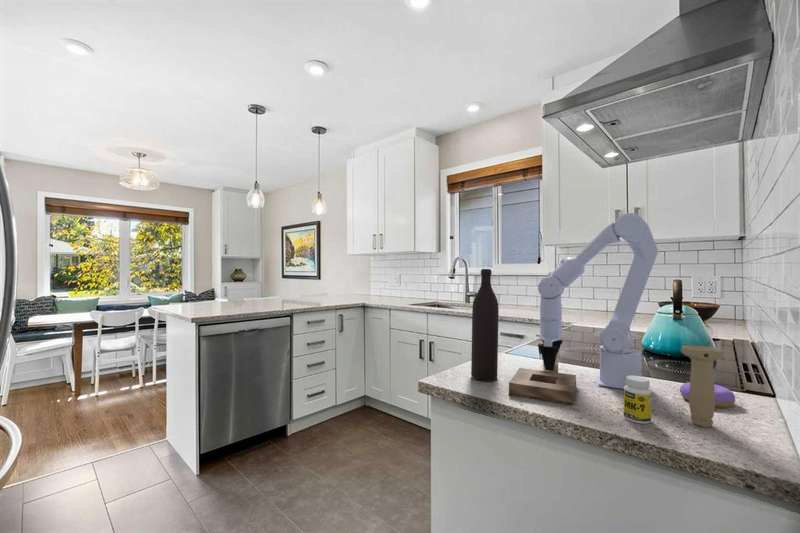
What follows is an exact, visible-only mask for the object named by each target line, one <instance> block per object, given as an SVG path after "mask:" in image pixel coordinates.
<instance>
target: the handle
mask: <svg viewBox="0 0 800 533" xmlns="http://www.w3.org/2000/svg"><path fill="white" fill-rule="evenodd" d="M724 351H725V350H724V349H722V348H718V347H712V346H711V347H710V346H704V345H703V346H702V345H681V353H682V354H683V355H684V356H687V357H688V358H689V359H690V363H691V365H690V378H689V382H690V388H689V401H688V404H689V411H690V419H691V422H692V423H693V425H696V426H700V427H702V428H707V427H708V428H709V427H710V428H712V427H713V424H714V420H713V419H714V415H715V409H716V407H715V390H714V384H715V380H714V377H715V376H714V375H715V374H714V362H716V361H718V360H721V359H723V358H724V356H725V352H724Z"/></svg>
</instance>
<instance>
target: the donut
mask: <svg viewBox="0 0 800 533" xmlns="http://www.w3.org/2000/svg"><path fill="white" fill-rule="evenodd" d="M689 388H690V381H689V382H685V383H682V385H681V386H680V387H679V392H680V395H681V396H682V398H684V399H685V400H686V401H688V402H689ZM714 390H715V408H729V407H731V406H732V405H734V404H735V402H736V396H735V394H734V392H733V391H731V390H730V389H729V388H727V387H724V386H721V385H718V384H715V383H714Z"/></svg>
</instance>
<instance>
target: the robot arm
mask: <svg viewBox="0 0 800 533" xmlns="http://www.w3.org/2000/svg"><path fill="white" fill-rule="evenodd" d="M620 238H621V239H622V240H623V241H625V242H627V243H628V245H629V247H630V248H631V250H632V252H633V253H634V256H633V258H632V262H631V265H630V267H629V270H628V271H627V272H628V273H627V275H626V278H625V281H624V283H623V286H622V289H621V292H620V295H619V297H618V300H617V303H616V305H615V308H614V310H613V313H612V315H611V317H610V320H609V322H608V324H607V325H606V326H605V328H604V329H603V330H602V331H601V332H600V335H599V342H600V343H601V345H600V346H599V375H598V376H597V385H598V386H601V387H607V388H615V389H622V390H624V386H625V385H627V384H626V377H627V376H640V377H643V374H642V372H643V371H642V354H641V352H636V351H633V349H632V348H631V346H630V345H629V341H630V340H631V337H632V334H631V325H632V322H633V320H634V317H635V314H636V311H637V308H638V307H639V303H640V301H641V298H642V296H643V293H644V290H645V288H646V286H647V282H648V280H649V277H650V275H651V271H652V269H653V266H654V264H655V261H656V259H657V257H658V253H659V249H658V247H657V244H656V241H655V239H654V236H653V234H652V232H651V229H650V226H649V224H648V223H647V222H646V221H645V220H644V218H642V217H641V216H640V215H639V214H637V213H633V212H627V213H624V214H622V215H620V216H619V217H617V218H616V220H615V221H613V222H611V223H610V224H608V225H607V226H606V227H604V228H603V230H602V231H600V232H599V233H598V234H597V235H596V236H595V237H593V239H592V240H591V241H590V242H589V243H588V244H587V245H586V246H585V247H584V249H583V248H582V250H581V251H580V252H579V253H578V254H577V255H576V256H575V257H573V256H570V257H567V258H566V259H564V258H562V259H561V261H560V262H559V264H560V265H558V266H557V267H556V268H555V269H554V270H553V271H550V272H548V274H547V276H548V277H544V278H543V277H542V279H541V281H540V282H539V284H538V286H537V291H538V293H539V294H540V302H539V303H540V304H539V314H540V315H539V322H540V323H539V332H538V333H537V332H536V334H535V337H537V338H540V339H541V341H542V343H538V345H537V347H538V350H539V351H540V353H541V358H542V362H544V367H545V370H551V371H553V370H554V366H555V360H556V355H557V353H558V354H559V351H560V349H561V345H562V344H563V342H564V340H563V332H562V327H563V326H562V325H563V324H562V323H563V321H562V320H563V319H562V316H563V315H562V314H563V304H562V295H563V293H564V291H565V288H568V287H569V286H570V285H571V284H574V282H575V281H576V280H577V279H578V278H580V276H582V275H583V274H584V273H585V265H586V264H588V263H589V262H590V261H591V260H592V259H594V257H596V256H597V255H599V253H601V252H602V251H603V250H604V249H605V248H607V247H608V246H609V245H612V244H617V243H620V242H622V241H621V239H620Z"/></svg>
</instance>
